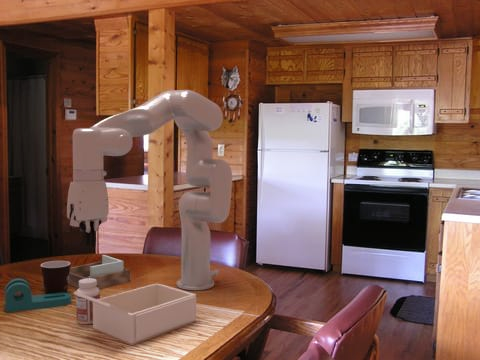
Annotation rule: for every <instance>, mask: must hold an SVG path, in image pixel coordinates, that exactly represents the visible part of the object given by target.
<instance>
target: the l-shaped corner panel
mask: <svg viewBox="0 0 480 360" xmlns="http://www.w3.org/2000/svg"><path fill="white" fill-rule="evenodd" d="M101 262H102V264H101V265H96V266H90V276H88V278H93V277H98V276H102V275H106V274H110V273H115V272H119V271H124V268H125V267H124V260H121V259H119V258H114V257H111V256H109V255H106V254H102V255H101Z"/></svg>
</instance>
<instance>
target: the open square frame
mask: <svg viewBox="0 0 480 360" xmlns="http://www.w3.org/2000/svg"><path fill="white" fill-rule="evenodd" d="M101 264H102V260H101V261H96V262H91V263H86V264H82V265H78V266H72V267H70V273H69V282H68V286H70V285H71V286H70V287H73V286H74V287H73V288H76V289H79V288H80V287H79V280H81V279H86V278H87V277H89V276H90V266H96V265H101ZM93 279H96V280H97V286H96V287H97V288H98V289H99V290H101V288H102V289H105V288H109V287H113V286H118V285H120V284H124V283H128V282H131V269H129V268H126V267H124V271H119V272H115V273H110V274H106V275H102V276H98V277H93Z"/></svg>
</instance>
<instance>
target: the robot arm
mask: <svg viewBox="0 0 480 360" xmlns="http://www.w3.org/2000/svg"><path fill="white" fill-rule="evenodd" d="M173 120H174V123H175V124H176V126H177V128H178V129H179V130H180V132H182V134H183V136H184V137H185V141H186V147H187V148H186V163H185V165H186V166H185V180H186V182H187V184H188V185H189V186H192V187H196V188H203V189H210V192H208V191H200V190H199V191H198V190H192V191H191V190H189V191H187V192H184V193H183V194H182V195H181V197H179V199H178V212H179V216H180V218H179V219H180V224H181V225H180V226H181V255H180V256H181V260H180V263H181V264H180V265H181V269H180V270H181V271H180V275H181V276H180V277H181V278H180V279H178V280H177V281H176V287H178V289H180V290H184V291H185V290H186V291H203V290H209V289H211V288H213V287H214V286H215V280H214V279H213V277H216V276H218V275H219V274H220V270H218V269H214V270H211V231H210V228H209V225H208V223H216V224H218V223H219V224H220V223H224V222H225V221H226V220H227V219H228V217H229V215H230V210H231V201H232V200H231V199H232V189H233V172H232V168H231V165H230V164H229V162H227V161H225V160H223V159H220V158H219V159H217V158H214V157H213V156H214V154H213V152H214V151H213V150H214V144H213V140H212V136H211V135H210V133H209V132H213V131H216V130H218V129H219V128H220V127H222V124H223V123H224V122H223V120H224V113H223V111H222V109H221V107H220V106H219V105H218V104H217V103H215V102H214V101H212V100H211V99H209V98H207V97H206V96H203V95H202V94H200V93H199V92H196V91H194V90H191V89H176V90H175V89H174V90H165V91H163V92H161V93H159V94H157V95H155V96H154V97H152V98H150V99H149V100H147V101H145V102H144V103H142V104H140V105H138V106H136V107H133V108H131V109H128V110H125V111H123V112H121V113H118V114H114V115H112V116H109V117H107V118H104V119H103V120H100V121H99V122H97V123H96V124H94V125H92V126H90V127H89V128H87V127H85V128H84V127H82V128H81V127H80V128H75V129H74V130H73V131H72V132H73V133H72V168H73V169H72V178H73V181H70V183H69V188H68V193H67V204H66V217H67V218H66V219H68V220H70V222H69V225H70V226H71V227H75V228H77V227H78V228H79V230H80V231H81V232H82V246H83V247H87V248H93V247H95V248H96V246H97V245H96V244H97V243H96V242H97V231H99V227H100V226H101V224H103V223H105V222H107V221H108V216H109V207H110V206H109V196H108V195H109V194H108V189H107V183H106V180H104V178H105V176H107V171H106V170H104V156H110V157H121V156H124V155H126V154H128V153H129V152H130V151H131V149H132V147H133V138H137V137H143V136H146V135H150V134H153V133H155V132H156V131H157V130H159V129H160V128H162V127H163V126H165V125H166V124H168V123H170V122H171V121H173Z"/></svg>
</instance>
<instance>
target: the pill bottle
mask: <svg viewBox="0 0 480 360" xmlns="http://www.w3.org/2000/svg"><path fill="white" fill-rule="evenodd" d="M96 286H97V280H96V279H93V278H89V277H88V278H87V277H86V279H81V280H79V287H80V288H77V290H76V291H75V292H78V293H81V294H83V295H86V296H89V297H92V298H94V299H100V298H101V293H100V290H101V289H98V288H97V287H96ZM75 312H76V314H75V315H76V317H75V318H76V322H77V323H78V324H82V325H90V324H92V325H93V302H92V301H89V300H87V299H85V298H82V297H80V296H78V295H76V294H75Z"/></svg>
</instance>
